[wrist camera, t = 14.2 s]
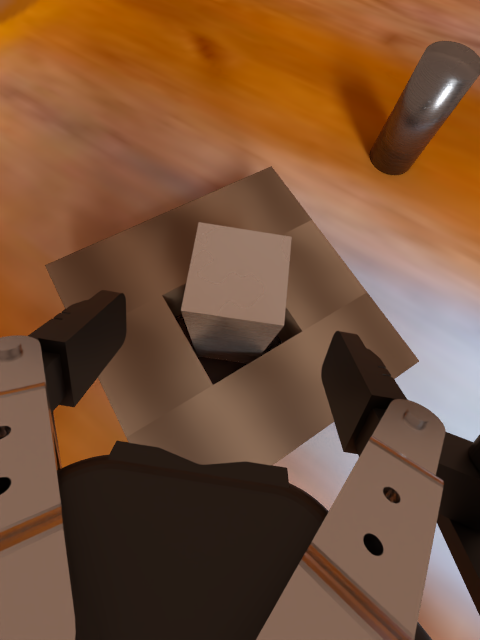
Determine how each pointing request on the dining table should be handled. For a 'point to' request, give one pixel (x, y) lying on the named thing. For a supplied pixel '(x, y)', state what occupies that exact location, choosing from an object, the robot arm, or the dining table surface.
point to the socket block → (181, 361)
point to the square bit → (235, 291)
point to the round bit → (425, 105)
